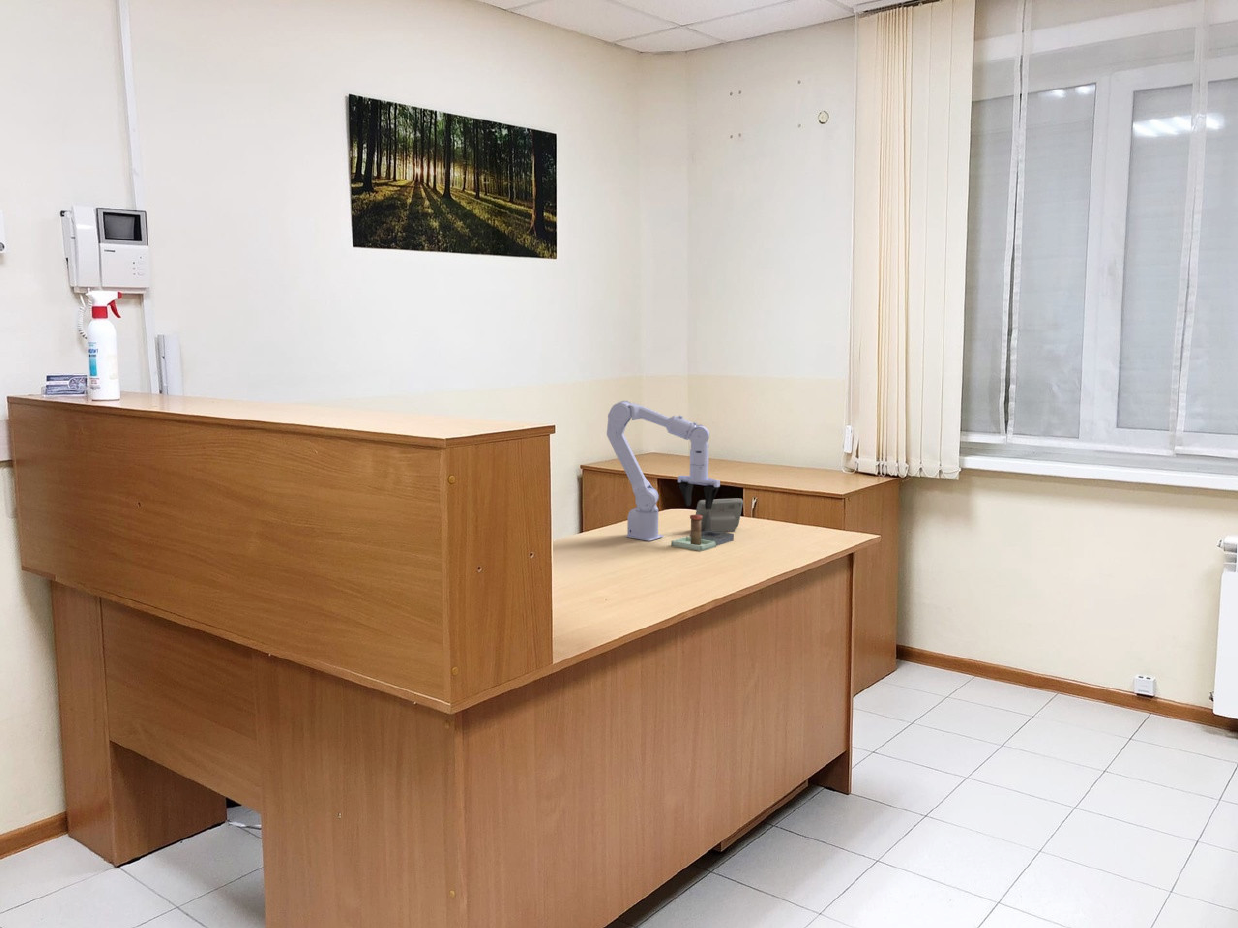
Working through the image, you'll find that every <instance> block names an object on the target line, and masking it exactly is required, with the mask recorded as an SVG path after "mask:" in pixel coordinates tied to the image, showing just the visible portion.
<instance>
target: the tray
mask: <svg viewBox="0 0 1238 928" xmlns="http://www.w3.org/2000/svg"><path fill="white" fill-rule="evenodd" d="M671 547H676V548H681V549H686V550H694V551H698V552H702V551H706V550H710V549H712V548H716V547H717V546H716V542H715V541H709V540H703V539H701V545H694V544H691V537H690V536H684V537H680V538H677V539H674V540H671Z"/></svg>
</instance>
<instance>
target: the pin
mask: <svg viewBox="0 0 1238 928" xmlns="http://www.w3.org/2000/svg"><path fill="white" fill-rule="evenodd" d="M689 519H690V534H691V544H694V545H701V531H702V530H701V519H702V515H696V514H690V515H689Z"/></svg>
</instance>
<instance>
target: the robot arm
mask: <svg viewBox="0 0 1238 928" xmlns="http://www.w3.org/2000/svg"><path fill="white" fill-rule="evenodd" d="M630 420H631V421H635V420H645V421H647V422H651V423H653V424H656V425H659V426H661V427H665V428H666V430H667V433H669V434H671V435H674V436H676V437H679V438H681V439H683V440H686V441H688V440H689V441H690V449H689V475H678V476H677V483H679V484H678V489H679V490H680V492H681V494H682V497H683V500H684V505H685V507H689V506H690V507H691V505H692V493H693V487H694V485H700V486H704V487H703V492H704V498H705V499H704V500H705V508H706V509H711V506H712V502H713V500H715V497H716V495H717V493H718V491H719V489H720V487H721V480H719V479H715V478H709V440H710V439H709V438H710V431H709V429H708V428H707V427H706V426H705V425H703V424H698V422H696V421H693V422H692V421H690V420H688V419H685V418H684V416H682V415H674V416H671V417H669V416H667V415H664V414H661V413H659V412H658V411H655V410H653V409H651V408H648V407H646V406H644V405H641V404H638V403H635V402H630V401H628V400H621V401H618V402H617V403H615V404H613V405H612V406H611V408H610V411H609V412H608V414H607V430H606V436H607V438H608V440H609V442H610V444H611V446H612V448H613V450H614V452H615V454H616V456H617V459H618V461H619V462H620V465H621V466H622V468H623V470H624V471H623V472H625V474H626V476H627V478H628V480H629V483H630V484H631V488H632V493H633V494H634V496H635V501H634V502H635V505H636V506H635V507H634V508H632V509H630V510H629V511H628V514H627V525H626V526H627V527H626V528H627V530H626V531H627V532H626V535H625V537H626V538H631V539H637V540H641V541H646V542H647V541H648V542H650V541H653V540H658V539H661V538H664V536H665V535H663V534H659V508H658V507H657V502H658V501H659V497H660V496H659V493H658V491H657V490H656V489H655V487H653V486H652V485H651V483H650V481H649V480H648V479H647V477H646V476H645V475H644V472H643V471H642V468H641V466H640V464H639V462H638V460H637V458H636V456H635V454H634V452H633V450H632V448H631V446H630V444H629V441H628V440H627V437H626V436H625V430H626V428H627V426H628V425H627V424H628V423H629V422H630Z"/></svg>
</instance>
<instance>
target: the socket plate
mask: <svg viewBox="0 0 1238 928" xmlns="http://www.w3.org/2000/svg"><path fill="white" fill-rule="evenodd" d="M689 537H691V533H690V534H689ZM701 539H703V540H709V541H715V542H716V547H717V546H720V545H723V544H727V543H729V542H731V541H735V534H734V533H732V532H719V531H713V530H701Z"/></svg>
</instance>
